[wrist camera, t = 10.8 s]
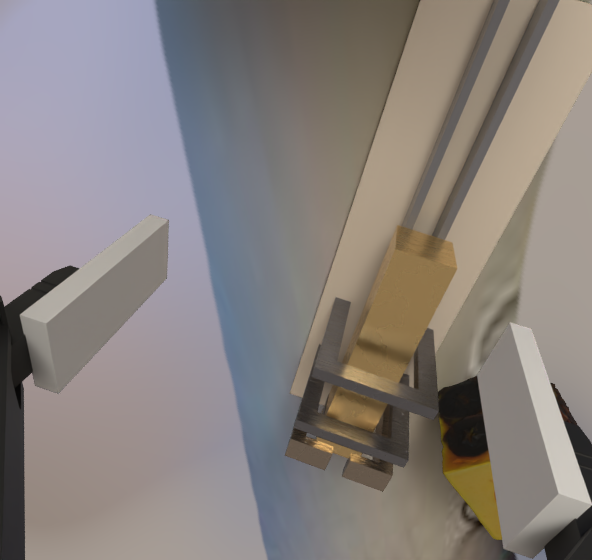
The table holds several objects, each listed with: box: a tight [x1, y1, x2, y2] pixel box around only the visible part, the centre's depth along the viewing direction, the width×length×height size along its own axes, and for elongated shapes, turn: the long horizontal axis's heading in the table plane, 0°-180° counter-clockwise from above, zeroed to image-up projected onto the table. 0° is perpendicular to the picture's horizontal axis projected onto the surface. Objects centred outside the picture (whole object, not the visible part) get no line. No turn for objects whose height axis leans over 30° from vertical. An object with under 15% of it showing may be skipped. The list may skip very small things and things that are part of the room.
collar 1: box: [312, 297, 439, 420], centre depth 37 cm, size 1×10×11 cm, turn 76°
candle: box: [438, 376, 577, 540], centre depth 39 cm, size 10×10×10 cm
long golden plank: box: [315, 225, 457, 458], centre depth 37 cm, size 22×4×4 cm, turn 166°
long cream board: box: [290, 0, 592, 405], centre depth 37 cm, size 40×12×3 cm, turn 166°
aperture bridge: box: [285, 387, 393, 492], centre depth 42 cm, size 2×9×10 cm, turn 76°
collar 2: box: [293, 344, 409, 468], centre depth 40 cm, size 1×10×11 cm, turn 76°
